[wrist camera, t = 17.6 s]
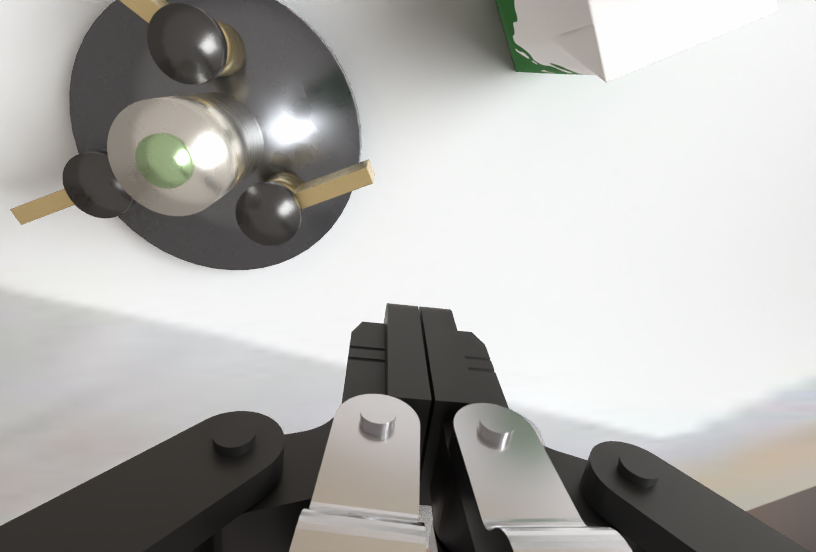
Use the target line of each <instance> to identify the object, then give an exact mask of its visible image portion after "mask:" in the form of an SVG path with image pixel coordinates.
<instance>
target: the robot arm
mask: <svg viewBox="0 0 816 552" xmlns="http://www.w3.org/2000/svg"><path fill="white" fill-rule="evenodd" d="M419 505H430V506H432V514H433V522H432V527H431V531H430V536H429V551H430V552H810V551H808V550H807V549H805V548H803V547H802V546H800V545H799V544H797V543H795V542H794V541H792V540H790V539H789V538H787V537H786V536H784V535H782V534H781V533H779V532H778V531H776V530H774V529H773V528H771V527H769V526H768V525H766V524H765V523H763V522H762V521H760V520H758V519H757V518H755V517H754V516H752V515H750V514H749V513H747V512H745V511H744V510H742V509H741V508H739V507H737V506H736V505H734V504H733V503H731V502H729V501H728V500H726V499H725V498H723V497H721V496H720V495H718V494H717V493H715V492H713V491H712V490H710V489H709V488H707V487H705V486H704V485H702V484H700V483H699V482H697V481H696V480H694V479H692V478H691V477H689V476H688V475H686V474H684V473H683V472H681V471H680V470H678V469H676V468H675V467H673V466H672V465H670V464H668V463H667V462H665V461H664V460H662V459H660V458H659V457H657V456H656V455H654V454H652V453H650V452H648V451H646V450H644V449H642V448H640V447H637V446H634V445H632V444H628V443H624V442H616V441H609V442H603V443H600V444H598V445H596V446H595V447H594V448H593V449H592V451H591V453H590V456H589V458H588V460H584V459H581V458H578V457H575V456H571V455H568V454H565V453H562V452H558V451H555V450H553V449H550V448H548V447H545V444H544V442H543V439H542V437H541V435H540V432H539V430H538V429H537V428H536V426H535V425H534V424H533V423H531V422H530V421H529V420H527V419H525V418H523V417H522V416H521V415H519V414H518V413H516V412H514V411H512V410H510V409H509V408H508V405H507V402H506V400H505V397H504V395H503V392H502V389H501V387H500V384H499V381H498V379H497V376H496V373H495V372H494V368H493V365H492V363H491V361H490V357H489V355H488V352H487V349H486V347H485V344H484V343H482V342H481V341H480V340H479V339H478V338H477V337H476V336H475V335H474V334H473V333H472V332H464V331H457V328H456V324H455V321H454V317H453V314H452V311H451V310H449V309H439V308H429V307H419V309H418V306H409V305H399V304H389V303H387V305H386V311H385V319H384V324H380V323H370V322H362V323H361V324H360V325H359V326H358V327H357V328H355V329H354V330H353V331H352V333H351V341H350V348H349V355H348V362H347V370H346V377H345V384H344V391H343V399H342V404H341V405H340V406H339V408H338V409H337V411H336V413H335V416H334V417H333V418H332V419H331V420H330V421H329V422H327V423H325V424H324V425H322V426H320V427H318V428H315V429H312V430H308V431H304V432H298V433H292V434H286V435H284V433H283V431H282V429H281V427H280V426H279V425H278V423H276V422H275V421H274V420H273V419H271V418H269V417H268V416H265V415H263V414H260V413H255V412H248V411H235V412H228V413H223V414H219V415H216V416H213V417H211V418H209V419H206V420H204V421H202V422H201V423H199V424H197V425H195V426H193V427H191V428H189V429H187V430H185V431H183V432H181V433H179V434H177V435H175V436H174V437H172V438H170V439H168V440H166V441H164V442H162V443H160V444H158V445H156V446H154V447H152V448H150V449H148V450H146V451H145V452H143V453H141V454H139V455H137V456H135V457H133V458H131V459H129V460H127V461H125V462H123V463H121V464H119V465H118V466H116V467H114V468H112V469H110V470H108V471H106V472H104V473H102V474H100V475H98V476H96V477H94V478H92V479H91V480H89V481H87V482H85V483H83V484H81V485H79V486H77V487H75V488H73V489H71V490H69V491H67V492H65V493H63V494H62V495H60V496H58V497H56V498H54V499H52V500H50V501H48V502H46V503H44V504H42V505H40V506H38V507H36V508H35V509H33V510H31V511H29V512H27V513H25V514H23V515H21V516H19V517H17V518H15V519H13V520H11V521H9V522H8V523H6V524H4V525H2V526H0V552H426V531H425V525H424V523H422V522H419Z"/></svg>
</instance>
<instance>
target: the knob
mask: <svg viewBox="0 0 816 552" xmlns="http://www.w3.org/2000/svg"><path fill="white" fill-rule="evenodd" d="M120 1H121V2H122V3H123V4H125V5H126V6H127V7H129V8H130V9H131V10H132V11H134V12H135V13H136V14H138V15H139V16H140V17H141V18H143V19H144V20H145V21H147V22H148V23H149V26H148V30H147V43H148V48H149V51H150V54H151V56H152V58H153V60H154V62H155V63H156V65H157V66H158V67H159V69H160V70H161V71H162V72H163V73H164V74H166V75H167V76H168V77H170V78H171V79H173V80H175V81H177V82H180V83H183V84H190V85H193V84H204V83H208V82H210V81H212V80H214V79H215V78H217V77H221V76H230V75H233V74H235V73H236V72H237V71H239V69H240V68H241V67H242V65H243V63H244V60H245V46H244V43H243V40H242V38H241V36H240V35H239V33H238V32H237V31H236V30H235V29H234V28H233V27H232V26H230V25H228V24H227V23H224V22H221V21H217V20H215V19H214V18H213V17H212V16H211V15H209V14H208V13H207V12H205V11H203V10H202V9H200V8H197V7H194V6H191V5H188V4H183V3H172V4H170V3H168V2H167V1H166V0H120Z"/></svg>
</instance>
